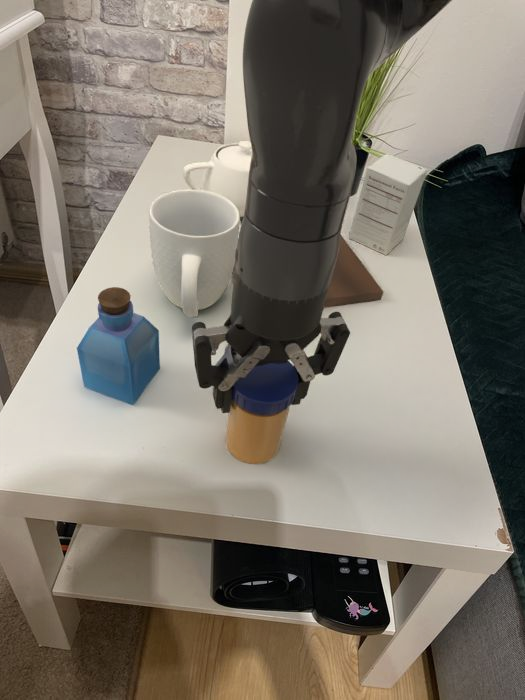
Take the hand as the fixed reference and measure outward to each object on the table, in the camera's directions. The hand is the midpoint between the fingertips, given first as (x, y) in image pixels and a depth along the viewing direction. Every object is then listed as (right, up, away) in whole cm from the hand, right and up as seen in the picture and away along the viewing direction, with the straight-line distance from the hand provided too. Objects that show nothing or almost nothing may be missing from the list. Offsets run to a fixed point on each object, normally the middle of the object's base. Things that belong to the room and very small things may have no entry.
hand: (259, 401), depth 52 cm
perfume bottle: (-16, +2, +9) cm, 18 cm away
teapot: (-3, +31, +40) cm, 50 cm away
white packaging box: (+19, +24, +36) cm, 48 cm away
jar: (-1, -5, +4) cm, 6 cm away
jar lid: (0, +3, -3) cm, 4 cm away
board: (+6, +17, +27) cm, 32 cm away
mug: (-9, +12, +20) cm, 25 cm away
